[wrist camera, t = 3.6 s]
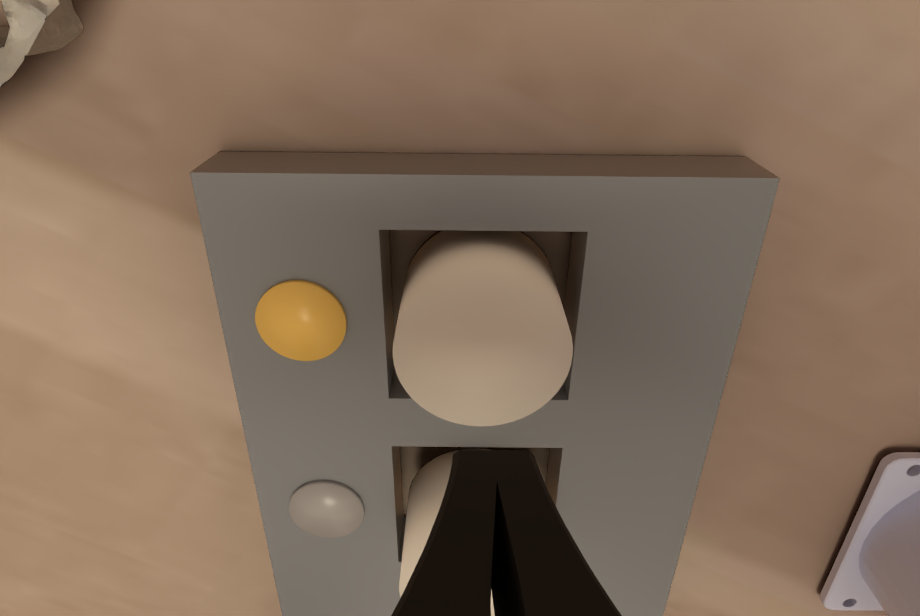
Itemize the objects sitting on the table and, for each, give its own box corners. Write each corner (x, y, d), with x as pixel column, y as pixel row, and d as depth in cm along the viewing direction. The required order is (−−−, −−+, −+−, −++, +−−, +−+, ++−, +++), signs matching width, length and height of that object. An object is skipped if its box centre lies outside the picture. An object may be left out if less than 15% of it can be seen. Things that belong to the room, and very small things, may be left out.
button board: (745, 156, 16) (783, 180, 14) (628, 654, 27) (641, 707, 25) (219, 151, 16) (186, 174, 14) (310, 651, 27) (298, 704, 25)
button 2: (546, 448, 19) (562, 537, 16) (537, 545, 21) (549, 639, 18) (406, 447, 19) (395, 535, 16) (410, 544, 21) (401, 638, 18)
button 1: (560, 222, 17) (581, 274, 14) (548, 356, 19) (564, 427, 16) (401, 221, 17) (388, 273, 14) (407, 354, 19) (396, 425, 16)
